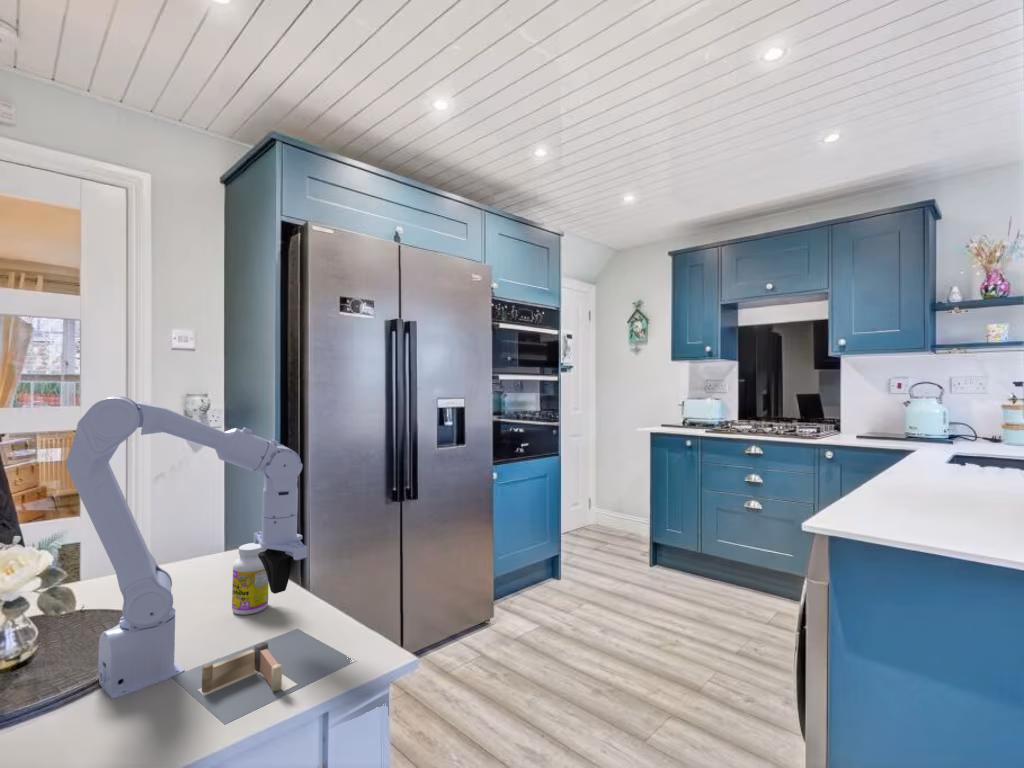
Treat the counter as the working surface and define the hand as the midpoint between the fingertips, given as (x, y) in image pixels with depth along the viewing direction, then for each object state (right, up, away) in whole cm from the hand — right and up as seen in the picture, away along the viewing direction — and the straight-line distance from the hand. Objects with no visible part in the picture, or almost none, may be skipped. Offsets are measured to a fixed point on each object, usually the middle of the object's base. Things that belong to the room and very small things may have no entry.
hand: (278, 591), depth 93 cm
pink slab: (+4, -9, -12) cm, 16 cm away
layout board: (+2, -9, -9) cm, 13 cm away
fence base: (-1, -9, -11) cm, 15 cm away
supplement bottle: (-12, -9, +14) cm, 21 cm away
